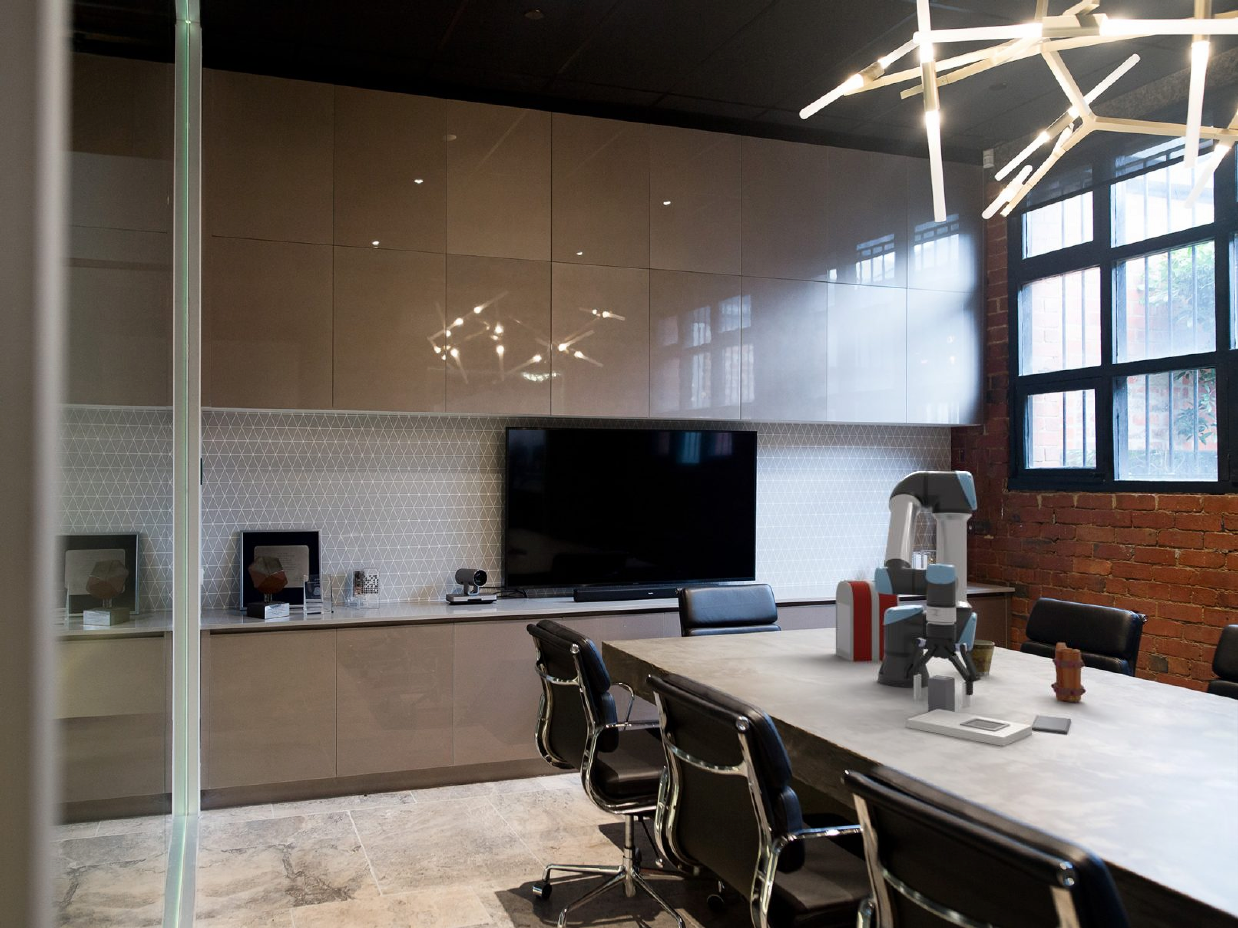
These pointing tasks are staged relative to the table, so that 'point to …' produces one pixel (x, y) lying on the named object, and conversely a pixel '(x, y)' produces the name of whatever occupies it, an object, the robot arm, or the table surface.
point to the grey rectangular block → (941, 693)
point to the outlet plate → (970, 727)
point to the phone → (1051, 724)
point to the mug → (1068, 674)
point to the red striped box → (861, 620)
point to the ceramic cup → (982, 655)
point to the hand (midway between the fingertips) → (941, 703)
